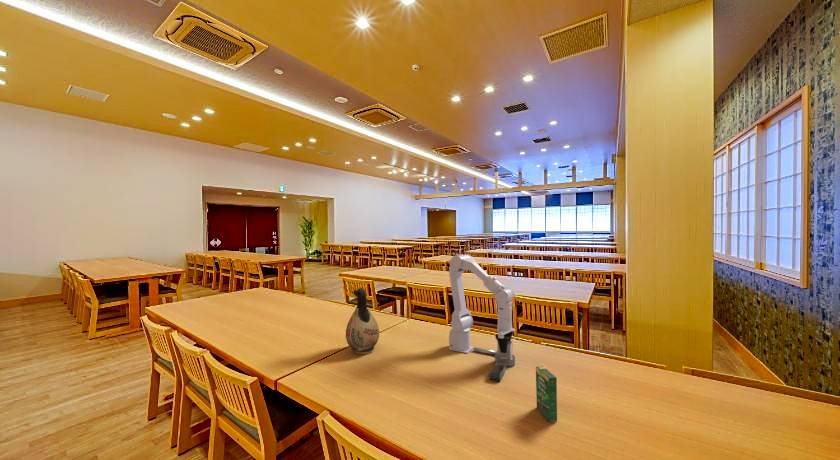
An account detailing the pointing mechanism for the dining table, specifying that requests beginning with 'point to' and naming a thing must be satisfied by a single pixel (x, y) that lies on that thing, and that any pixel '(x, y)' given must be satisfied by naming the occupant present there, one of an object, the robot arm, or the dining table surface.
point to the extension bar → (484, 351)
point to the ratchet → (501, 367)
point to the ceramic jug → (362, 327)
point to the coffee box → (546, 393)
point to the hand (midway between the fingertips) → (504, 349)
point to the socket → (508, 352)
